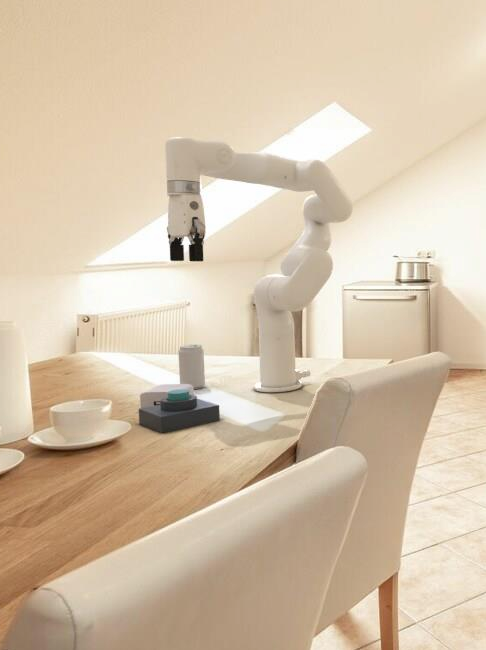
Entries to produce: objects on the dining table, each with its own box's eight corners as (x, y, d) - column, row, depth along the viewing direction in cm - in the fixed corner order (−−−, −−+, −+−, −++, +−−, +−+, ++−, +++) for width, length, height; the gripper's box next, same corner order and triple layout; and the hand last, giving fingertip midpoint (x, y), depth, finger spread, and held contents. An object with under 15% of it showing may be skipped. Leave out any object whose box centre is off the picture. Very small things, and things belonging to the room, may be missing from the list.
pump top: (183, 396, 145) (183, 388, 144) (193, 399, 142) (192, 391, 142) (164, 400, 141) (164, 391, 141) (173, 403, 138) (173, 394, 138)
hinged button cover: (203, 396, 166) (180, 411, 152) (167, 397, 166) (140, 411, 151) (202, 378, 166) (179, 391, 151) (166, 379, 165) (139, 392, 150)
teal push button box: (196, 412, 150) (195, 389, 150) (219, 420, 144) (218, 396, 143) (139, 424, 140) (137, 399, 140) (161, 433, 134) (160, 407, 133)
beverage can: (209, 387, 178) (208, 345, 176) (188, 391, 172) (186, 348, 171) (196, 384, 181) (194, 343, 180) (175, 388, 176) (173, 346, 175)
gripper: (217, 189, 149) (219, 261, 151) (182, 193, 160) (185, 260, 162) (185, 186, 143) (188, 261, 145) (152, 191, 154) (154, 260, 156)
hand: (186, 261), depth 153 cm, fingers open, 9 cm apart
